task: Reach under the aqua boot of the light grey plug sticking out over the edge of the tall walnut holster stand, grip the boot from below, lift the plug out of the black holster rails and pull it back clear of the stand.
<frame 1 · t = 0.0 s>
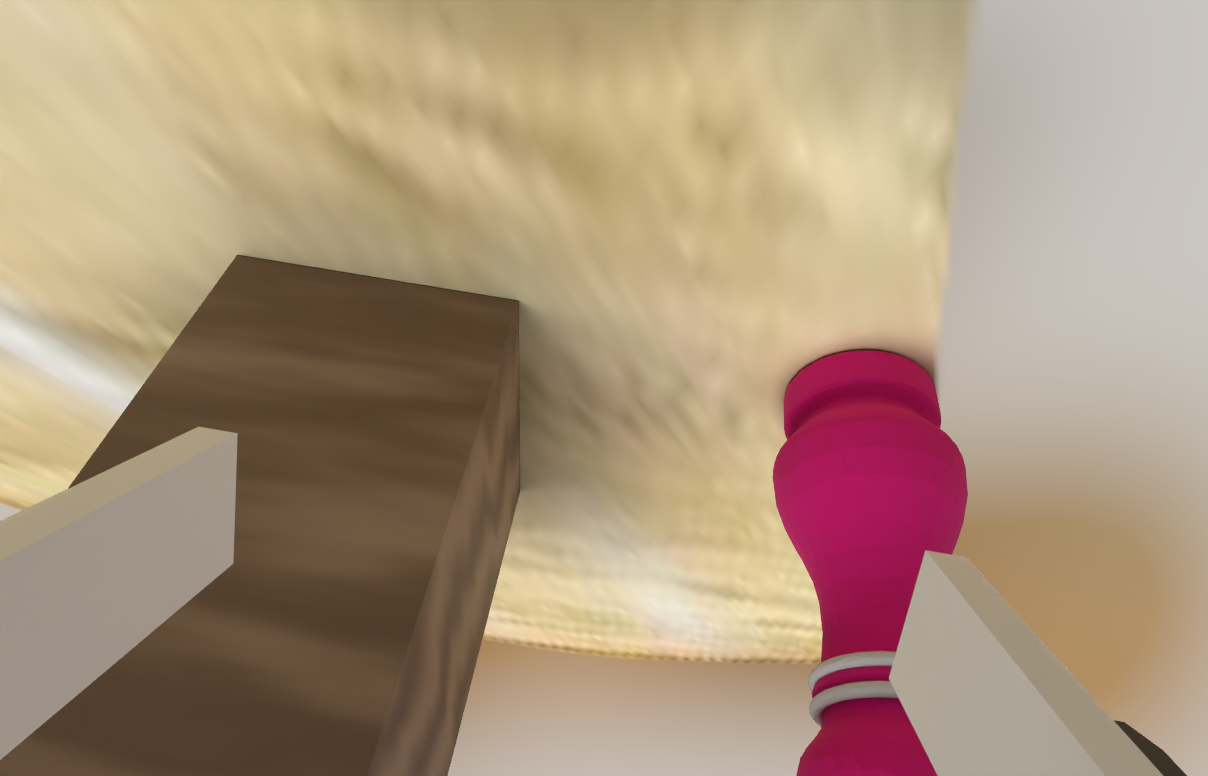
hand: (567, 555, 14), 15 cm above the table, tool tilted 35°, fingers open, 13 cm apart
pepper mill: (856, 394, 32), on the table
holster stand: (400, 391, 36), on the table
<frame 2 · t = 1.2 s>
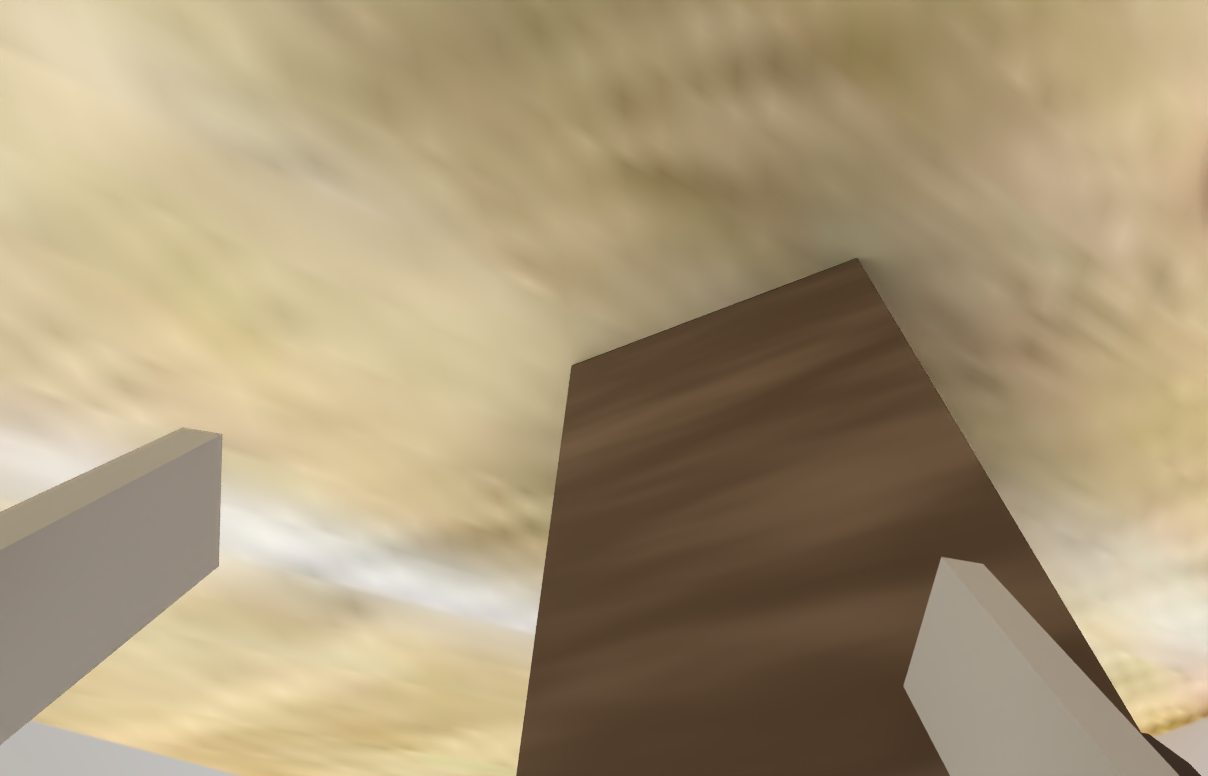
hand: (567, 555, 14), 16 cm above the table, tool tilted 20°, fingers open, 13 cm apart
holster stand: (765, 450, 33), on the table
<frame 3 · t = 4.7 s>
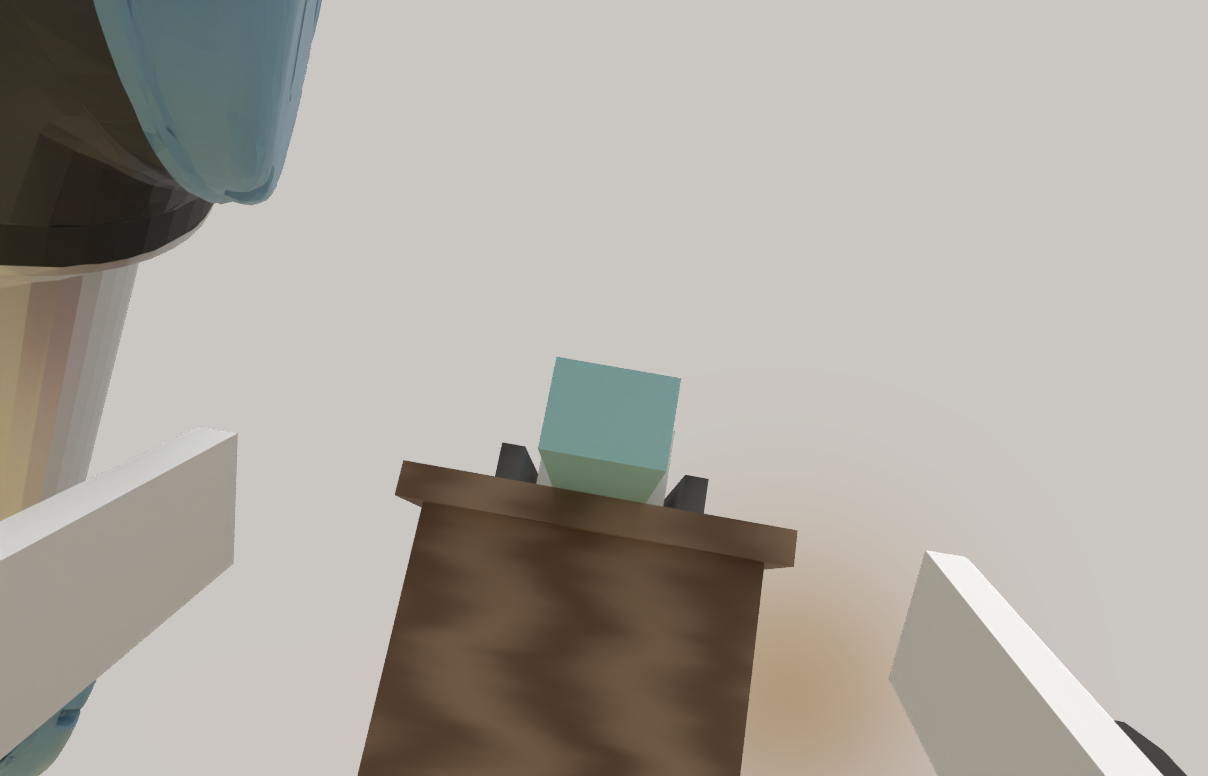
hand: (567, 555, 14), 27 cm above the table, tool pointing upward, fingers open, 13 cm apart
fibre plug: (598, 502, 34), point 30 cm above the table, touching holster stand
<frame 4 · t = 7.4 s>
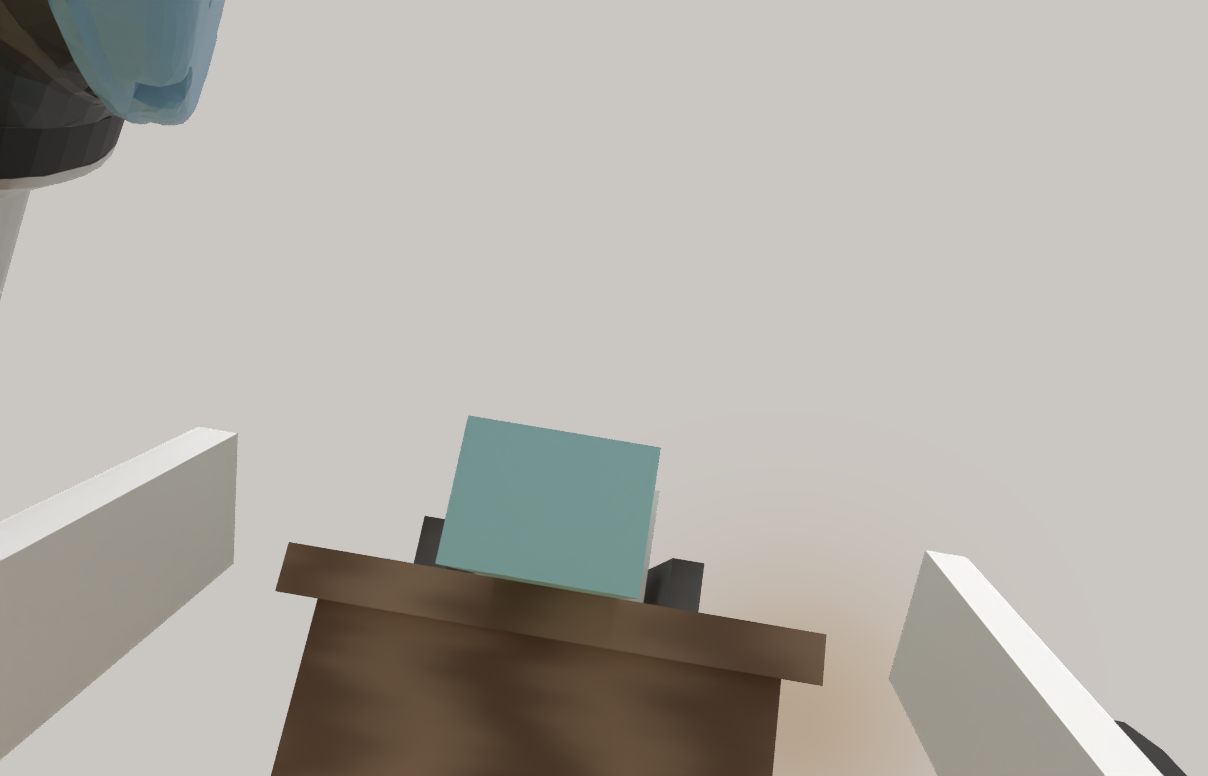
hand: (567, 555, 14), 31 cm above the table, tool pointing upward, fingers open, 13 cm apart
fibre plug: (558, 589, 26), point 30 cm above the table, touching holster stand
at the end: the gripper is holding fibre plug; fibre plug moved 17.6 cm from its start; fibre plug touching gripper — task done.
